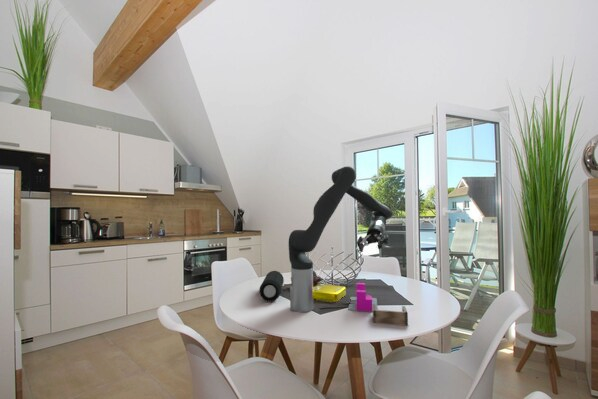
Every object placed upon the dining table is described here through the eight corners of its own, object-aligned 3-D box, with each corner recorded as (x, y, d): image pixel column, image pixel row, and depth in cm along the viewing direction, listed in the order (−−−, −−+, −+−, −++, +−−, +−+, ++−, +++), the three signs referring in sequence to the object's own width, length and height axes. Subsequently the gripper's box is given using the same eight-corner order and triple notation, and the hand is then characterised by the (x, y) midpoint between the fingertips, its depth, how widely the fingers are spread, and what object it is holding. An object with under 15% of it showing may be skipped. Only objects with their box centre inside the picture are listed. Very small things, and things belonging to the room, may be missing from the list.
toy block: (372, 311, 119) (372, 292, 119) (356, 310, 120) (356, 291, 120) (370, 300, 133) (370, 283, 134) (356, 299, 135) (356, 282, 135)
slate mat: (348, 310, 121) (348, 309, 121) (350, 297, 139) (350, 296, 139) (377, 312, 119) (377, 311, 119) (376, 299, 136) (376, 298, 136)
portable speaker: (265, 288, 158) (265, 269, 158) (284, 288, 157) (283, 269, 158) (258, 303, 132) (258, 281, 132) (280, 303, 132) (280, 280, 132)
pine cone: (289, 289, 154) (289, 270, 154) (292, 284, 164) (292, 267, 164) (323, 290, 152) (322, 271, 152) (323, 285, 162) (323, 267, 162)
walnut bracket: (373, 322, 107) (373, 310, 107) (373, 315, 115) (372, 304, 115) (407, 325, 105) (407, 312, 105) (405, 317, 112) (405, 306, 112)
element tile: (335, 304, 131) (335, 293, 131) (306, 299, 138) (306, 289, 138) (346, 295, 144) (346, 285, 144) (319, 291, 151) (319, 282, 151)
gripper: (360, 226, 146) (352, 243, 133) (388, 221, 139) (382, 239, 126) (365, 238, 148) (357, 257, 135) (392, 234, 141) (387, 253, 128)
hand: (369, 248), depth 131 cm, fingers open, 8 cm apart
